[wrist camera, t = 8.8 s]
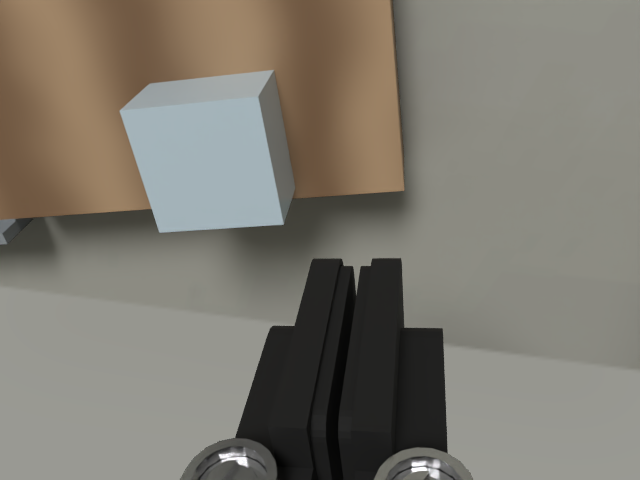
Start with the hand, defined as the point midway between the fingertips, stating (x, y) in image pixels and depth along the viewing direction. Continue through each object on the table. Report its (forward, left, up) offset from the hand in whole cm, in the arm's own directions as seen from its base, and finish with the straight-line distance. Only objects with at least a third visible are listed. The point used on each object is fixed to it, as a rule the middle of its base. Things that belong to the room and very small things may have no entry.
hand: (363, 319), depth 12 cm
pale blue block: (+6, +1, -13) cm, 15 cm away
